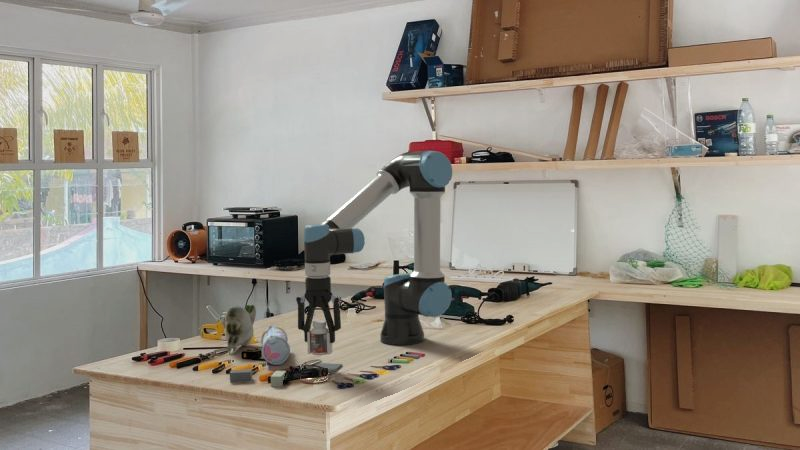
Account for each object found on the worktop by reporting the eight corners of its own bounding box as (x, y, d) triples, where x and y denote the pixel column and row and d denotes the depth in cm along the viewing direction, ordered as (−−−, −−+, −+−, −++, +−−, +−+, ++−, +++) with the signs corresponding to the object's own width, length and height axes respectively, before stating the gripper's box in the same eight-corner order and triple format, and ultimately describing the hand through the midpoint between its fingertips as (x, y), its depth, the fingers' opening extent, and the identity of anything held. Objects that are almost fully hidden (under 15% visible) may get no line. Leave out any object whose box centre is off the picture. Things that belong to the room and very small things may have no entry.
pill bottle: (308, 355, 243) (306, 322, 242) (316, 350, 248) (315, 319, 247) (324, 356, 240) (323, 323, 240) (332, 352, 245) (331, 320, 245)
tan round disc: (306, 375, 238) (306, 372, 238) (332, 376, 236) (332, 373, 236) (296, 382, 230) (296, 380, 230) (323, 384, 228) (323, 381, 228)
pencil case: (261, 352, 269) (260, 323, 268) (287, 350, 271) (286, 322, 270) (262, 367, 249) (261, 337, 248) (291, 365, 250) (290, 335, 249)
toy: (243, 355, 266) (264, 339, 286) (241, 309, 264) (261, 296, 284) (219, 355, 268) (241, 339, 287) (216, 309, 266) (238, 296, 286)
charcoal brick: (230, 383, 233) (229, 372, 233) (231, 380, 236) (231, 370, 236) (251, 382, 233) (250, 372, 233) (252, 379, 236) (252, 369, 236)
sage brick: (276, 381, 234) (275, 370, 233) (286, 381, 233) (286, 370, 233) (270, 386, 228) (270, 376, 228) (281, 386, 228) (281, 376, 227)
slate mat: (311, 364, 250) (311, 362, 250) (342, 365, 248) (342, 363, 248) (299, 373, 241) (299, 371, 241) (331, 374, 238) (331, 372, 238)
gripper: (284, 277, 241) (286, 354, 242) (343, 278, 236) (345, 357, 238) (293, 274, 248) (296, 349, 250) (351, 275, 243) (353, 351, 245)
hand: (320, 352), depth 244 cm, fingers closed on pill bottle, 5 cm apart
